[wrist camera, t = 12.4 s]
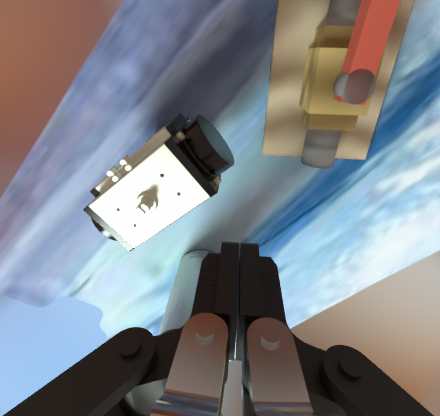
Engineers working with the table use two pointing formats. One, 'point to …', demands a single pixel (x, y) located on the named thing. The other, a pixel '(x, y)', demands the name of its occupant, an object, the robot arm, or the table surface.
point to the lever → (365, 51)
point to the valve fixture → (321, 82)
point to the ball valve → (160, 181)
